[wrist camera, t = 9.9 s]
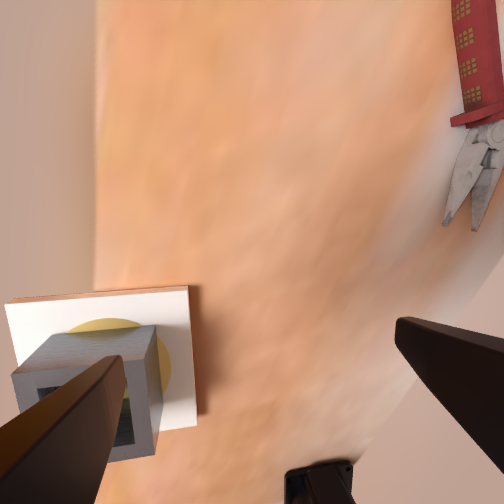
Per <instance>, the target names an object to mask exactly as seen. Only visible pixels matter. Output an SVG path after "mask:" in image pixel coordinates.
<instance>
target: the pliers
mask: <svg viewBox="0 0 504 504" xmlns="http://www.w3.org/2000/svg"><path fill="white" fill-rule="evenodd" d="M451 4H452V23H453V31H454V38H455V45H456V52H457V60H458V67H459V74H460V82H461V89H462V96H463V104H464V111H465V113H462V114H459V115H457V116H454V117H452V118H450V122H451V127H453V126H457V125H461V124H465V125H466V129H467V128H471V127H472V128H471V129H470V131H469V133H468V135H467V137H466V140H465V142H464V144H463V146H462V149H461V151H460V153H459V156H458V159H457V161H456V164H455V168H454V172H453V177H452V182H451V186H450V191H449V195H448V200H447V205H446V209H445V214H444V219H443V223H442V226H445V227H447V225H448V224H449V222H450V221H451V219H452V218H453V216H454V214H455V213H456V211H457V210H458V208H459V207H460V205H461V204H462V202H463V201H464V199H465V198H466V196H467V195H468V193H469V191H470V190H471V215H472V231H475V232H477V230H478V227H479V225H480V223H481V220H482V218H483V215H484V213H485V211H486V208H487V206H488V204H489V201H490V199H491V197H492V194H493V192H494V189H495V187H496V185H497V182H498V180H499V178H500V175H501V173H502V170H503V167H504V84H503V74H502V64H501V54H500V44H499V34H498V23H497V13H496V3H495V0H452V1H451Z"/></svg>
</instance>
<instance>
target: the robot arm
mask: <svg viewBox="0 0 504 504" xmlns="http://www.w3.org/2000/svg"><path fill="white" fill-rule="evenodd" d="M395 344H396V346H397V348H398V349H399V351H400V352H401V353H402V355H403V356H404V357H405V359H406V360H407V362H408V363H409V364H410V366H411V367H412V368H413V370H414V371H415V372H416V374H417V375H418V376H419V378H420V379H421V380H422V382H423V383H424V384H425V385H426V387H427V388H428V389H429V390H430V391H431V392H432V394H433V395H434V396H435V397H436V398H437V399H438V400H439V401H440V403H441V404H442V405H443V406H444V407H445V408H446V409H447V410H448V412H449V413H450V414H451V415H452V416H453V417H454V418H455V420H456V421H457V422H458V423H459V424H460V425H461V426H462V428H463V429H464V430H465V431H466V432H467V433H468V434H469V435H470V437H471V438H472V439H473V440H474V441H475V442H476V443H477V445H478V446H479V447H480V448H481V449H482V450H483V451H484V452H485V453H486V455H487V456H488V457H489V458H490V459H491V460H492V461H493V463H494V464H495V465H496V466H497V467H498V468H499V469H500V471H501V472H502V473H503V474H504V339H503V338H499V337H494V336H490V335H486V334H482V333H478V332H473V331H469V330H465V329H461V328H457V327H452V326H448V325H444V324H440V323H435V322H431V321H427V320H423V319H419V318H414V317H400V318H398V319H397V321H396V328H395ZM125 388H126V377H125V371H124V365H123V359H122V356H121V355H118V354H117V355H110V356H105V357H104V358H102V359H101V360H99V361H98V362H96V363H95V364H93V365H92V366H90V367H89V368H87V369H86V370H84V371H83V372H81V373H80V374H78V375H77V376H76V377H74V378H73V379H71V380H70V381H68V382H67V383H65V384H64V385H62V386H61V387H59V388H58V389H56V390H55V391H53V392H52V393H50V394H49V395H47V396H46V397H45V398H43V399H42V400H40V401H39V402H37V403H36V404H34V405H33V406H31V407H30V408H28V409H27V410H25V411H24V412H22V413H21V414H19V415H18V416H17V417H15V418H14V419H12V420H11V421H9V422H8V423H6V424H5V425H3V426H2V427H0V504H94V502H95V499H96V496H97V493H98V490H99V487H100V484H101V481H102V478H103V474H104V471H105V468H106V465H107V462H108V459H109V456H110V453H111V450H112V446H113V443H114V440H115V435H116V431H117V426H118V421H119V417H120V412H121V407H122V402H123V397H124V393H125ZM352 477H353V466H352V464H351V462H350V461H343V462H338V463H333V464H328V465H322V466H317V467H312V468H307V469H302V470H297V471H292V472H288V473H286V474H285V477H284V504H356V503H355V501H354V499H353V497H352V495H351V490H352Z"/></svg>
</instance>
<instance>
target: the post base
mask: <svg viewBox="0 0 504 504" xmlns="http://www.w3.org/2000/svg"><path fill="white" fill-rule="evenodd" d="M5 309H6V314H7V318H8V322H9V327H10V331H11V336H12V340H13V344H14V348H15V353H16V357H17V361H18V366H20V365H21V364H22V363H23V362H24V361H25V360H26V359H27V358H28V357H29V356H30V355H31V354H32V353H33V352H34V351H35V350H37V349H38V348H39V347H40V346H41V345H42V344H43V343H44V342H45V341H46V340H47V339H48V338H49V337H50V336H51V335H54V334H65V333H75V332H86V331H96V330H107V329H117V328H127V327H138V326H148V325H155V326H156V336H157V346H158V356H159V365H160V375H161V385H162V394H163V404H164V405H163V411H162V417H161V423H160V428H159V431H165V430H172V429H178V428H184V427H191V426H197V404H196V390H195V376H194V362H193V348H192V334H191V321H190V307H189V293H188V286H174V287H160V288H147V289H133V290H120V291H106V292H93V293H79V294H67V295H52V296H39V297H25V298H15V299H13V300H11V301H9V302H8V303H6V304H5ZM123 398H129V393H128V386H127V378H126V388H125V393H124V397H123Z"/></svg>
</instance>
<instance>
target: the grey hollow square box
mask: <svg viewBox="0 0 504 504" xmlns="http://www.w3.org/2000/svg"><path fill="white" fill-rule="evenodd" d="M117 354H118V355H121V356H122V359H123V365H124V371H125V377H126V378H127V386H128V393H129V398H123V402H122V407H121V412H120V417H119V421H118V426H117V431H116V435H115V440H114V443H113V446H112V450H111V453H110V456H109V459H108V462H107V463H110V462H116V461H121V460H127V459H133V458H139V457H145V456H151V455H155V451H156V446H157V440H158V434H159V428H160V423H161V417H162V411H163V405H164V404H163V394H162V385H161V375H160V365H159V356H158V346H157V336H156V326H155V325H148V326H138V327H127V328H117V329H107V330H96V331H86V332H75V333H65V334H54V335H51V336H50V337H49V338H48V339H47V340H46V341H45V342H44V343H43V344H42V345H41V346H40V347H39V348H38V349H37V350H35V351H34V352H33V353H32V354H31V355H30V356H29V357H28V358H27V359H26V360H25V361H24V362H23V363H22V364H21V365H20V366H19V367H18V368H17V369H16V370H15V371H14V372H13V373H12V374H11V377H12V381H13V384H14V389H15V393H16V398H17V402H18V406H19V410H20V414H21V413H22V412H24V411H25V410H27V409H28V408H30V407H31V406H33V405H34V404H36V403H37V402H39V401H40V400H42V399H43V398H45V397H46V396H47V395H49V394H50V393H52V392H53V391H55V390H56V389H58V388H59V387H61V386H62V385H64V384H65V383H67V382H68V381H70V380H71V379H73V378H74V377H76V376H77V375H78V374H80V373H81V372H83V371H84V370H86V369H87V368H89V367H90V366H92V365H93V364H95V363H96V362H98V361H99V360H101V359H102V358H104V357H105V356H110V355H117Z"/></svg>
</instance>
